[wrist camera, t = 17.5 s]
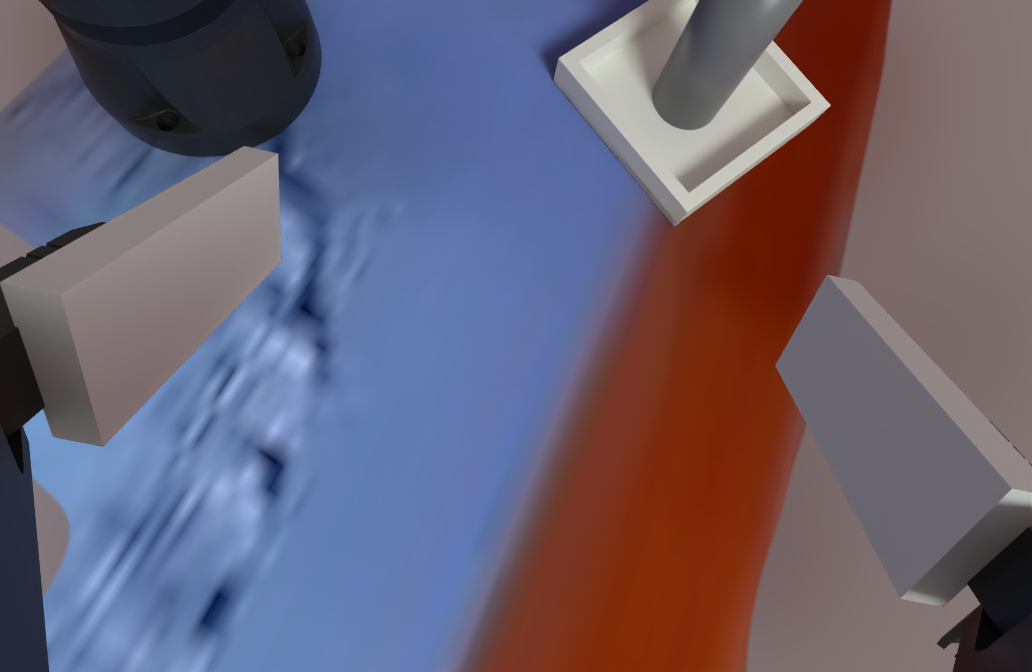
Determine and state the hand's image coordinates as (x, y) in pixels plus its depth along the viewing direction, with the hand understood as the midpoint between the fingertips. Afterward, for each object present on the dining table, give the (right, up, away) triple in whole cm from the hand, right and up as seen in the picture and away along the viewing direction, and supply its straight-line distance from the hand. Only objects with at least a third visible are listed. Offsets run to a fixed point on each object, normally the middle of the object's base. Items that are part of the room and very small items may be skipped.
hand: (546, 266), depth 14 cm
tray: (+12, +16, +29) cm, 35 cm away
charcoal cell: (+12, +16, +28) cm, 34 cm away
